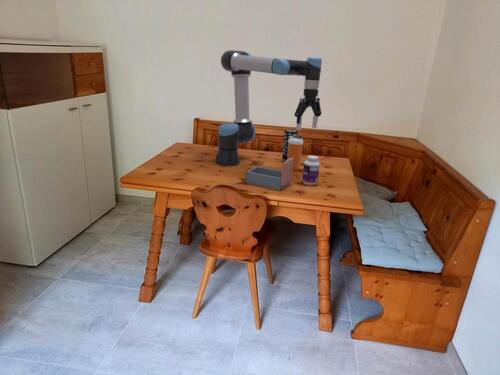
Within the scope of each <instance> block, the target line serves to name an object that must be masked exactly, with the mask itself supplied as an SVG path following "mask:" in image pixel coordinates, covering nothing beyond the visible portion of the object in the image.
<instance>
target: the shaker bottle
mask: <svg viewBox="0 0 500 375" xmlns="http://www.w3.org/2000/svg"><path fill="white" fill-rule="evenodd" d="M303 146H304V139H303V136H302V135H298V136H294V135H291V136H290V138H289V140H288V160H289V159H290V158H294V162H293V171H298V170H299V169H300V164H301V160H302V159H301V158H302V152H303Z"/></svg>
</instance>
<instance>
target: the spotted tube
mask: <svg viewBox="0 0 500 375" xmlns="http://www.w3.org/2000/svg"><path fill="white" fill-rule="evenodd" d="M298 134H299V131H298V130H297V129H285V130H284V134H283V146H282V156H281V157H282V158H281V162H282V163H283V162H285V161H287V160H288V140H289V138H290V136H291V135H294V136H299V135H298Z"/></svg>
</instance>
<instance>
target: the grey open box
mask: <svg viewBox="0 0 500 375" xmlns="http://www.w3.org/2000/svg"><path fill="white" fill-rule="evenodd" d="M281 175H282V170H279V169H273V168H269V167H262V166H258V165H257V166H254V167H253V168H250V169H249V170H246V171H245V184H249V185H252V186H257V187H263V188H266V187H267V188H268V189H271V188H272V189H271V190H275V189H277V190H276V191H281V190H282V189H284V188H285V187H286V186H287V185H289V184H290V182H289V183H288V184H286V185H285V186H284V187H282V188H280V186H281ZM280 189H281V190H280Z"/></svg>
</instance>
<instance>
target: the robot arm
mask: <svg viewBox="0 0 500 375" xmlns="http://www.w3.org/2000/svg"><path fill="white" fill-rule="evenodd" d="M322 62H323V61H322V58H321V57H316V56H308V57H307V59H306V60H297V59H285V58H275V57H266V56H265V57H263V56H254V55H252V54H251V53H250V52H248V51H247V52H246V51H243V50H242V51H241V50H232V49H231V50H227V51H224V53H222V55H221V57H220V63H221V67H222V68H223V69H224V70H225V71H226V72H229V73H230V72H231V75H230V76H232V78H233V85H234V110H235V113H234V114H235V115H234V116H235V119H234V120H233V121H232V122H226V123H222V124H220V125H219V128H218V150H217V153H216V155H215V159H214V161H215V164H216V165H221V166H226V167H228V166H230V167H231V166H232V167H233V166H238V165H240V164H241V163H240V162H241V159H240V154H239V151H238V147H239V146H238V145H241V144H245V143H246V144H247V143H249V142H251V141H253V140H254V138H255V137H256V126H254V124H253V123H252V122H253V121H252V120H251V119H250V94H249V78H250V77H251V73H252V72H255V73H257V72H258V73H266V74H273V75H274V74H275V75H278V76H301V77H304V88H303V96H304V97H300V99H299V103H298V105H297V107H296V109H295V112H294V115H293V116H294V117H295V118H296V122H295V123H296V127H295V130H296V131H298V130H299V131H301V130H302V124H303V123H302V122H303V115H304V113H305V112H306V111H307V109H308V108H310V107H311V110H312V112H313V113H312V114H314V115H313V116H312V124H311V128H313V129H318V121H319V117H321V115H322V109H321V104H320V103H321V102H320V101H321V100H320V97H318V96H319V88H320V81H321V79H320V78H321V71H322V65H323V64H322Z"/></svg>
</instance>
